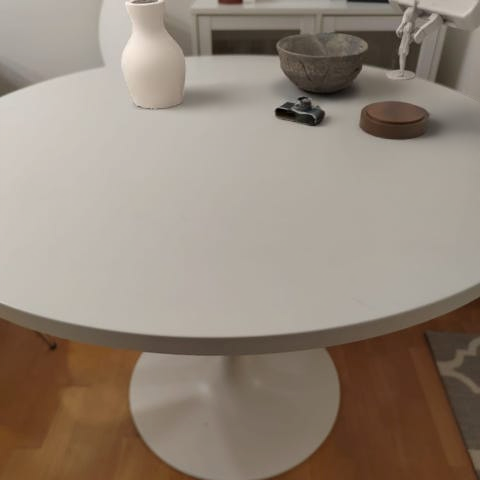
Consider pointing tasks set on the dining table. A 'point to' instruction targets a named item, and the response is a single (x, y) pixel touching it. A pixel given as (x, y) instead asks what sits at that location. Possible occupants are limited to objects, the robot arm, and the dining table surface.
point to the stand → (394, 120)
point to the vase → (152, 58)
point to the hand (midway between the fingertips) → (406, 38)
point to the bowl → (321, 60)
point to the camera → (300, 111)
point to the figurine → (404, 49)
